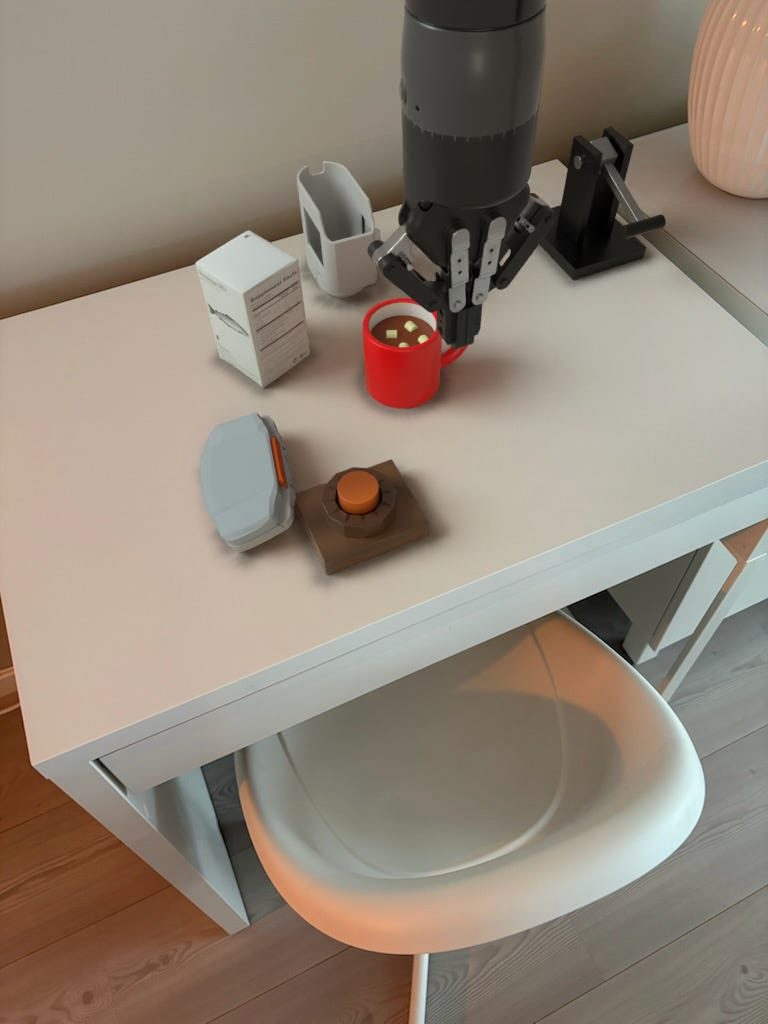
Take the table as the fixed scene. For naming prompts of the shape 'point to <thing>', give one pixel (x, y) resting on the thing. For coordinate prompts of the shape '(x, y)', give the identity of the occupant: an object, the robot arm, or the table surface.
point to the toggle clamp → (591, 213)
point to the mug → (403, 353)
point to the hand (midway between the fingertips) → (458, 340)
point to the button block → (360, 519)
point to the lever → (624, 194)
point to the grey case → (247, 481)
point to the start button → (358, 492)
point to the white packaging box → (255, 306)
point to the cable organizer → (337, 229)
